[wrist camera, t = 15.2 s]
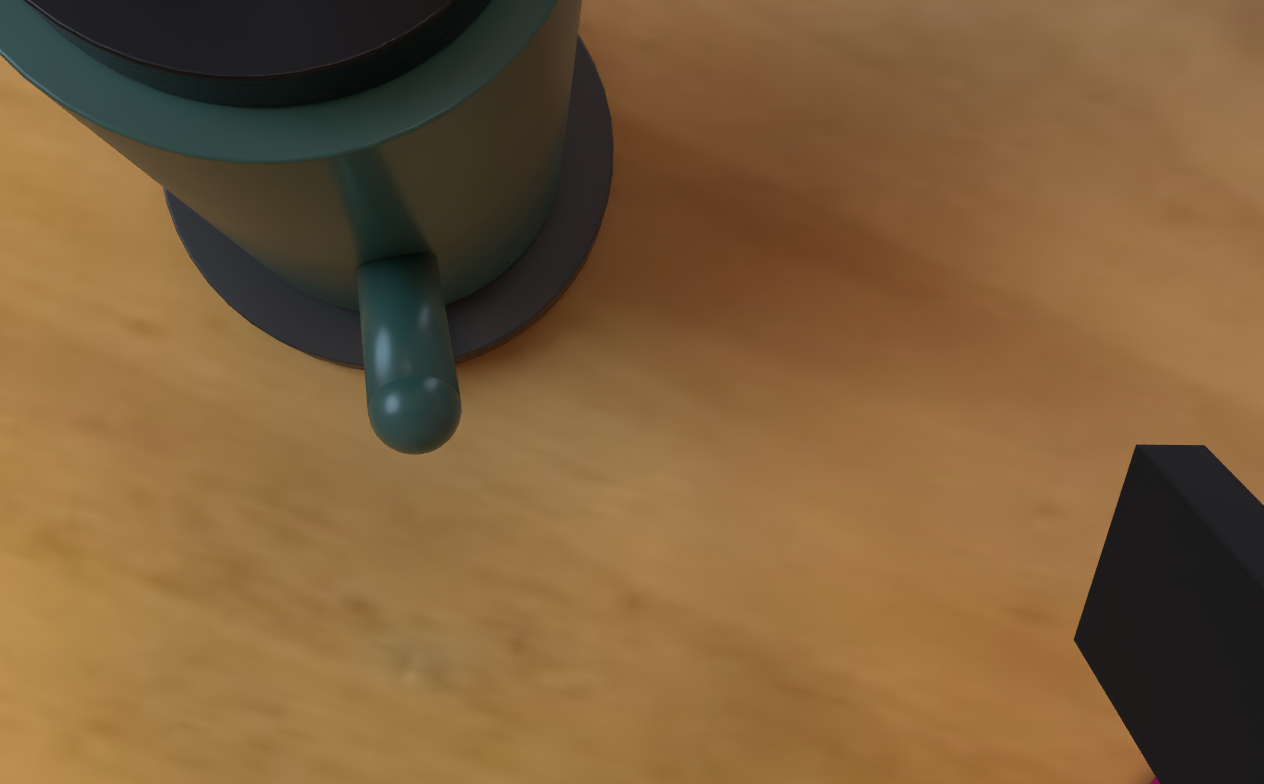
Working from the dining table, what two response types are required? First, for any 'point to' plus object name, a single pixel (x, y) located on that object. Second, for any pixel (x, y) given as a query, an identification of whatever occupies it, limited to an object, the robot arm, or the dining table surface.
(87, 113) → the kettle
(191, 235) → the kettle base
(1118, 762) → the dining table surface
